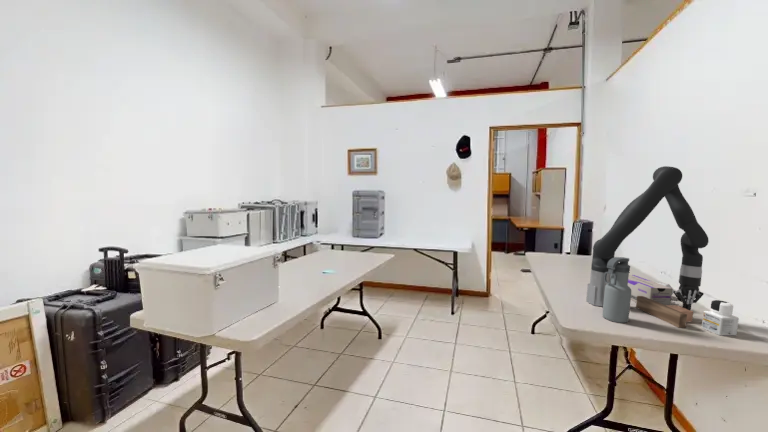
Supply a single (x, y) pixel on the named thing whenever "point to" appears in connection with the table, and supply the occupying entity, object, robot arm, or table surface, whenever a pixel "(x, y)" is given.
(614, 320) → the water bottle
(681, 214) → the robot arm
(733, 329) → the container
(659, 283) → the die
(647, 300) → the stop board
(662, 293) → the surgical sutures box
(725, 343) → the table surface
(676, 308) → the block
